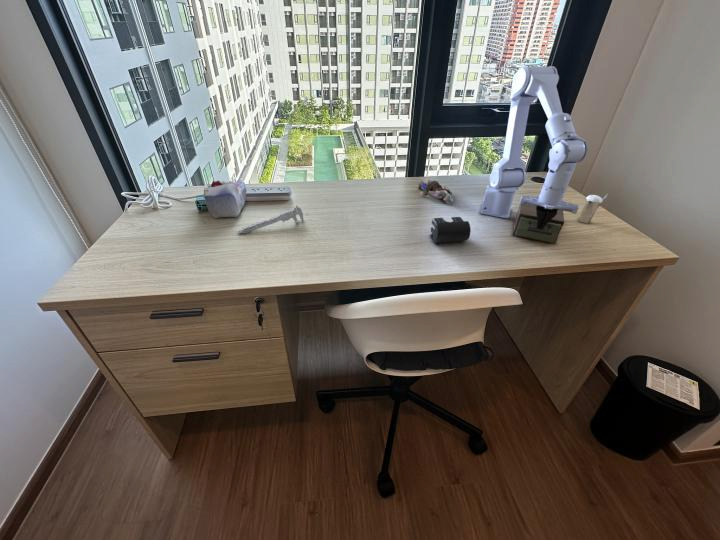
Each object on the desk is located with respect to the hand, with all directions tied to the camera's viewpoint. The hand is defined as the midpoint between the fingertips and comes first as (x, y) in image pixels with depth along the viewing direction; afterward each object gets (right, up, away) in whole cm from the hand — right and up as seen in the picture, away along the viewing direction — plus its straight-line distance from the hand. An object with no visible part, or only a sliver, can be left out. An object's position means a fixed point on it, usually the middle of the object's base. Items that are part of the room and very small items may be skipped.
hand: (538, 230), depth 97 cm
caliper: (-81, +2, +9) cm, 81 cm away
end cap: (-26, -3, +3) cm, 26 cm away
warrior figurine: (-23, +17, +30) cm, 41 cm away
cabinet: (+4, +1, +9) cm, 10 cm away
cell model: (-99, +10, +19) cm, 101 cm away
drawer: (+2, 0, +6) cm, 6 cm away
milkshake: (+24, +5, +15) cm, 29 cm away
